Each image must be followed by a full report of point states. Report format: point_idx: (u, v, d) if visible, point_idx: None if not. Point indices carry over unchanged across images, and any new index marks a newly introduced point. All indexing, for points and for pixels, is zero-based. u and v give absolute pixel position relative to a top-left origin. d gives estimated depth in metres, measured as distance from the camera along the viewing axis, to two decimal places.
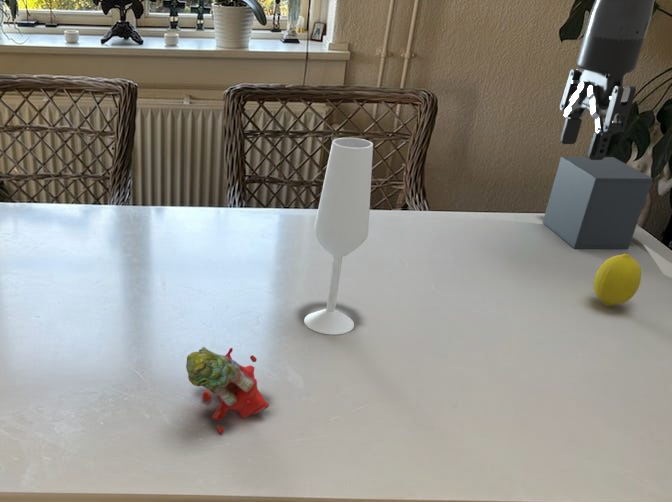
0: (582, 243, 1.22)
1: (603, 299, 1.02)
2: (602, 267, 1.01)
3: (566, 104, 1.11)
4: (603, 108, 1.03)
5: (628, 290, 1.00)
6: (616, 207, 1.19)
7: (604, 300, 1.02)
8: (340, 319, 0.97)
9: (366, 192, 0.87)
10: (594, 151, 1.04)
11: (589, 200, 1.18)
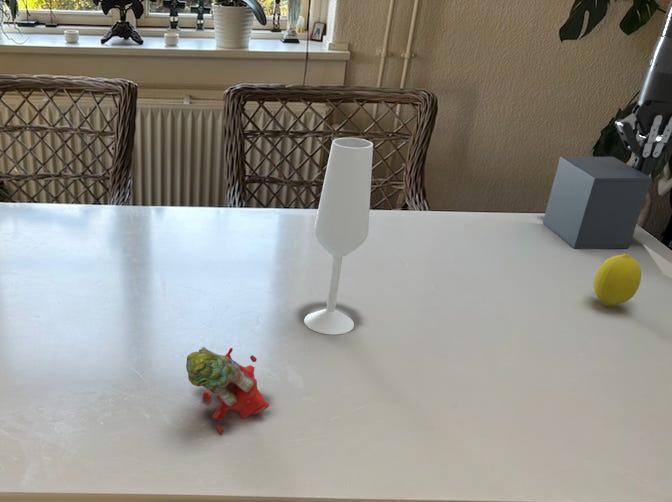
0: (582, 243, 1.22)
1: (603, 299, 1.02)
2: (602, 267, 1.01)
3: None
4: (640, 130, 1.18)
5: (628, 289, 1.00)
6: (616, 206, 1.18)
7: (604, 300, 1.02)
8: (340, 319, 0.97)
9: (366, 192, 0.87)
10: None
11: (588, 200, 1.18)
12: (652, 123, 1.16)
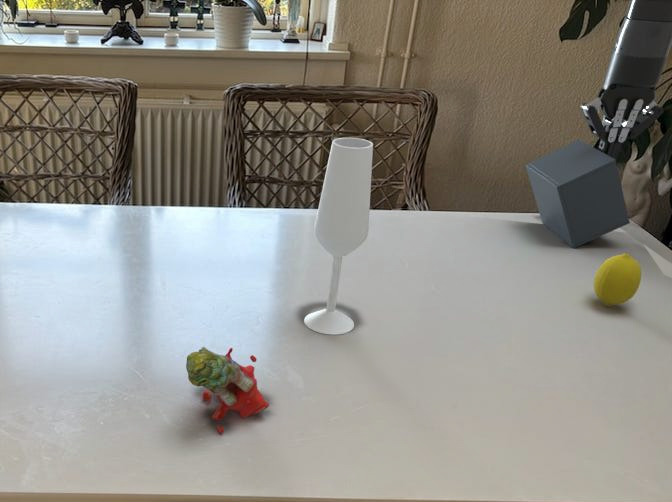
0: (579, 240, 1.21)
1: (603, 299, 1.02)
2: (602, 267, 1.01)
3: None
4: (606, 115, 1.17)
5: (628, 290, 1.00)
6: (594, 197, 1.18)
7: (604, 300, 1.02)
8: (340, 319, 0.97)
9: (366, 192, 0.87)
10: None
11: (562, 206, 1.18)
12: (617, 107, 1.14)
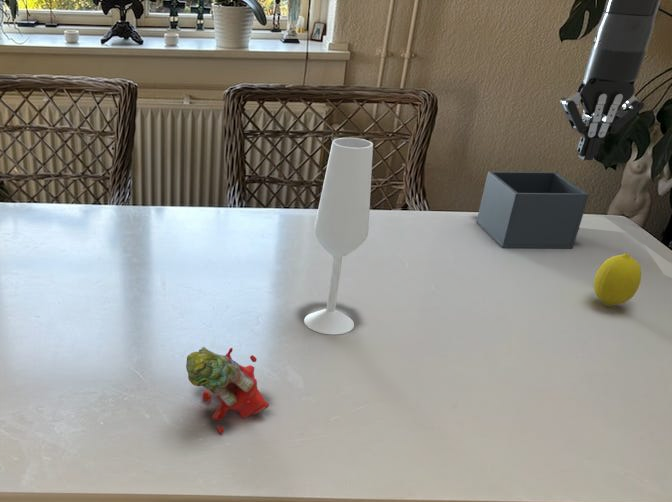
0: (569, 241, 1.21)
1: (603, 299, 1.02)
2: (602, 267, 1.01)
3: None
4: (585, 110, 1.16)
5: (628, 289, 1.00)
6: (537, 219, 1.19)
7: (604, 300, 1.02)
8: (340, 319, 0.97)
9: (366, 192, 0.87)
10: None
11: (523, 247, 1.22)
12: (597, 102, 1.14)
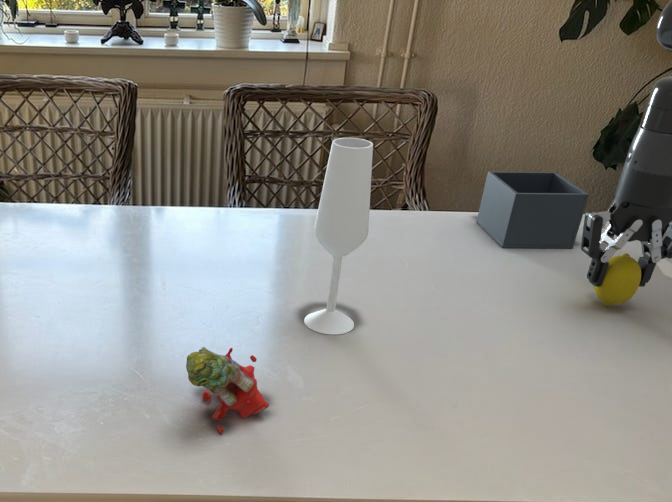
0: (569, 241, 1.21)
1: (603, 299, 1.02)
2: None
3: None
4: (616, 235, 0.98)
5: (628, 290, 1.00)
6: (537, 219, 1.19)
7: (604, 300, 1.02)
8: (340, 319, 0.97)
9: (366, 192, 0.87)
10: None
11: (523, 247, 1.22)
12: (629, 226, 0.96)
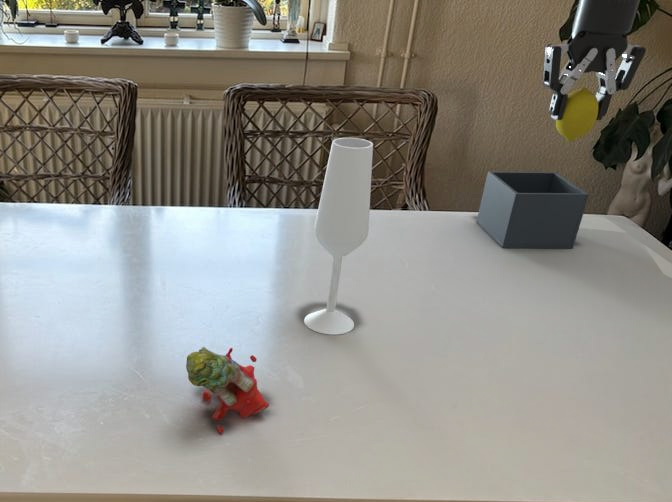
0: (569, 241, 1.21)
1: (564, 133, 1.10)
2: None
3: None
4: (574, 67, 1.06)
5: (587, 120, 1.08)
6: (537, 219, 1.19)
7: (565, 134, 1.10)
8: (340, 319, 0.97)
9: (366, 192, 0.87)
10: (553, 109, 1.10)
11: (523, 247, 1.22)
12: (585, 55, 1.04)
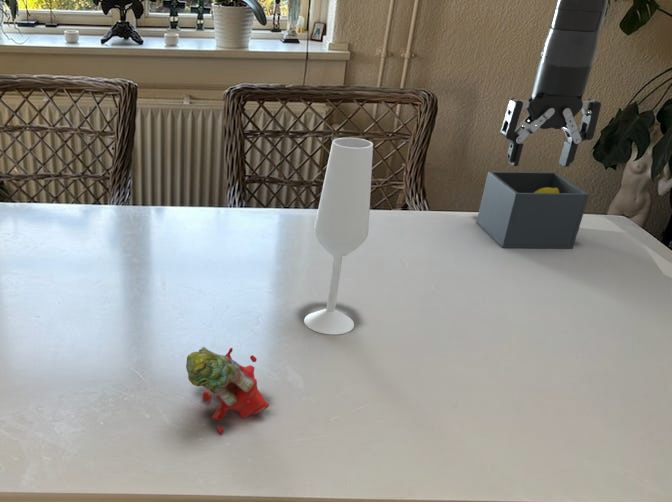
0: (569, 241, 1.22)
1: None
2: (537, 191, 1.24)
3: (580, 130, 1.19)
4: None
5: None
6: (537, 219, 1.19)
7: None
8: (340, 319, 0.97)
9: (366, 192, 0.87)
10: None
11: (523, 247, 1.22)
12: (544, 112, 1.15)
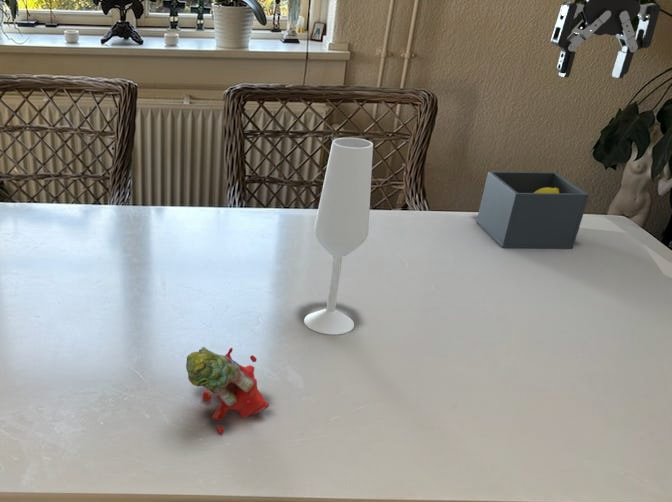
0: (569, 241, 1.22)
1: None
2: (537, 191, 1.24)
3: (636, 39, 1.12)
4: None
5: None
6: (537, 220, 1.19)
7: None
8: (340, 319, 0.97)
9: (366, 192, 0.87)
10: None
11: (523, 247, 1.22)
12: (599, 16, 1.07)
